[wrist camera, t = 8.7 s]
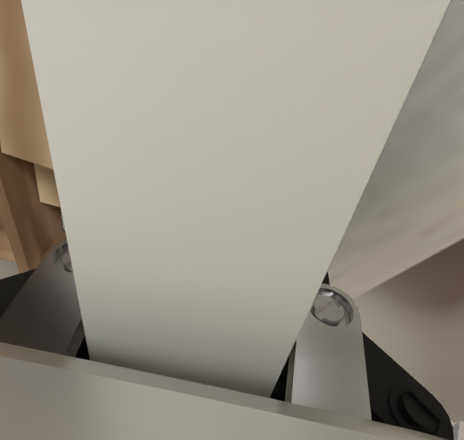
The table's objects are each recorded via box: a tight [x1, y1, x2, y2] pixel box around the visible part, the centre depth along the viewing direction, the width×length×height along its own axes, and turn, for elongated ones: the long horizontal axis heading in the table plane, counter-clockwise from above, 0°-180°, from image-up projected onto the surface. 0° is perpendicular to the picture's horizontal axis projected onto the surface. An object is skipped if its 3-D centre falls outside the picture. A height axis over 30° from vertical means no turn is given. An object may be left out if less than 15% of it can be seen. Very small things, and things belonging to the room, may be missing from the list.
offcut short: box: [0, 0, 53, 169], centre depth 20 cm, size 4×12×2 cm, turn 163°
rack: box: [0, 143, 67, 273], centre depth 21 cm, size 14×36×6 cm, turn 171°
